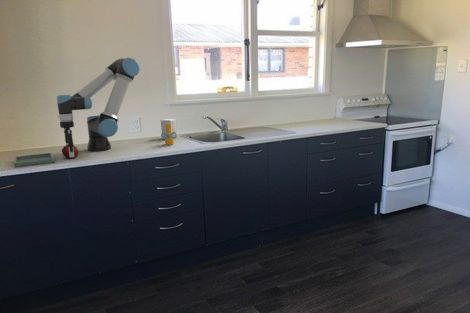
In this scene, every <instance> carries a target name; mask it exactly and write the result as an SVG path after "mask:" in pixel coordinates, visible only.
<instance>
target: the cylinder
mask: <svg viewBox="0 0 470 313" xmlns="http://www.w3.org/2000/svg"><path fill="white" fill-rule="evenodd" d="M165 127H166V133H165V132H163V133H162V132H161V134H160V135H161V136H160V137H161V139H162V140H164V144H165V146H173V145H174V143H175V142H174V139H177V138H178V133H177V134H176V132H172V131H171V123H166V124H165ZM163 134H165V135H166V136H165V137H163ZM172 134H175V136H174V137H173V136H172ZM176 137H177V138H176ZM173 138H174V139H173Z"/></svg>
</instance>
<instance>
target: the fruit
mask: <svg viewBox="0 0 470 313" xmlns="http://www.w3.org/2000/svg"><path fill="white" fill-rule="evenodd" d="M73 148H74V156H75V157H70V156H69V148H68V147H67V145H66V144H65V145H64V146H63V148H62V149H61V153H62V155H63V156H64V157H65V159H76V158H77V157H78V155H79V152H80V151H79V149H78V147H77V146H75V145H74V146H73Z"/></svg>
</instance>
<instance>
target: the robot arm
mask: <svg viewBox="0 0 470 313" xmlns="http://www.w3.org/2000/svg"><path fill="white" fill-rule="evenodd" d="M140 70H141V68H140V64H139V62H138V61H137V60H136V59H135V58H132V57H125V58H119V59H115V61H113V62H112V63H111V64H110V65H108V66H107V67H106V68H105V70H104V71H103V72H102V73H100V74H99V75H98V76H97V77H96V78H94V79H93V80H92V81H90V82H89V83H88V84H86V85H85V86H84V87H82V88H81V89H79V91H77V92H76V93H75V94H73V95H72V96H71V95H70V94H59V95H57V96H56V104H57V110H58V111H57V112H58V115H57V118H58V119H59V121H60V122H59V126H60V128H62V129H64V130H63V133H64V141H65V146H66V145H67V147H68V148H69V156H70V157H75V156H74V148H73V146H75V144H74V140H73V134H72V133H73V132H72V130H71V128H73V127H75V125H74V124H75V123H74V113H73V111H81V110H92V108H93V101H92V97H93V96H95V95H96V94H97V93H98V92H100V91H101V90H102V89H103V88H105V87H106V86H108V85H109V84H110V83H112V81H114V84H113V87H112V89H111V91H110V95H109V97H108V99H107V102H106V105H105V107H104V110H103V111H102V112H100V114H99V115H91V116H87V117H86V124H87V131H88V142H87V143H88V144H87V151H88V152H103V151H109V150H111V148H112V145H111V142H110V140H109V138H110V137H112V136H114V135H116V134H117V132H118V129H119V125H118V121H119V118H118V115H119V112H120V109H121V107H122V104H123V102H124V99H125V96H126V93H127V90H128V89H129V85H130V83H132V82H133V81H134V79H135V76H137V75H139V73H140ZM108 137H109V138H108ZM75 158H76V157H75Z"/></svg>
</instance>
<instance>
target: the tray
mask: <svg viewBox="0 0 470 313" xmlns="http://www.w3.org/2000/svg"><path fill="white" fill-rule="evenodd" d="M13 163H14V168H23V167H30V166H37V165H46V164H53V163H55V158H54V155H53V153H52V152H46V153H35V154H28V155H18V156H14V162H13Z"/></svg>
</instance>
